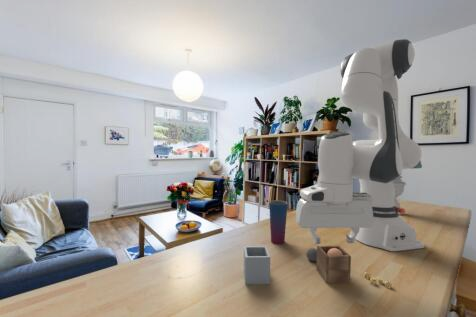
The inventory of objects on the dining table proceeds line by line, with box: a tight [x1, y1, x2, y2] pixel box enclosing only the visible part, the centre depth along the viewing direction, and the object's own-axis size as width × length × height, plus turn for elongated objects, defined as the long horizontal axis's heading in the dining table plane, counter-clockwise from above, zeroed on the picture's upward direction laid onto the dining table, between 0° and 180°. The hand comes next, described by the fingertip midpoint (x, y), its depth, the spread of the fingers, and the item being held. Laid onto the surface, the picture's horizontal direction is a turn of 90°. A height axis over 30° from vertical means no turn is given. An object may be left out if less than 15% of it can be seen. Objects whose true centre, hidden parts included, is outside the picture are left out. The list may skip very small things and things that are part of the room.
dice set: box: [363, 272, 392, 289], centre depth 59 cm, size 5×5×2 cm
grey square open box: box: [243, 245, 271, 285], centre depth 60 cm, size 6×6×7 cm
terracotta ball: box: [327, 248, 343, 255], centre depth 60 cm, size 4×4×4 cm
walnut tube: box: [316, 245, 352, 284], centre depth 61 cm, size 6×6×7 cm
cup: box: [268, 199, 288, 245], centre depth 85 cm, size 7×7×15 cm
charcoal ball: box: [306, 247, 317, 263], centre depth 70 cm, size 4×4×4 cm
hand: (333, 242), depth 61 cm, fingers open, 8 cm apart
